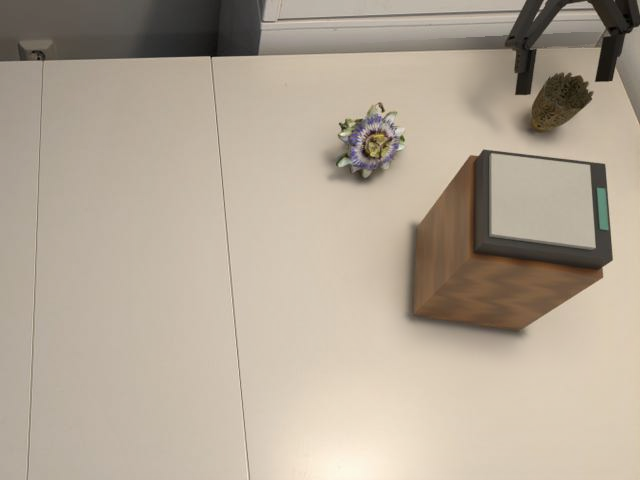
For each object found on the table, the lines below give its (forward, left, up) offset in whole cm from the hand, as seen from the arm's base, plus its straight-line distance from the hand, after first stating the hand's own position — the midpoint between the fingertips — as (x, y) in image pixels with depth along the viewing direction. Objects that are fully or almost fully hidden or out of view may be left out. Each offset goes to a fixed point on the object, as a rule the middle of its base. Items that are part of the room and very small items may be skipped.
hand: (563, 88), depth 91 cm
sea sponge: (0, +1, -7) cm, 7 cm away
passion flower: (+30, +12, -7) cm, 33 cm away
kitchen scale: (+12, +33, +11) cm, 37 cm away
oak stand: (+12, +33, -7) cm, 36 cm away
